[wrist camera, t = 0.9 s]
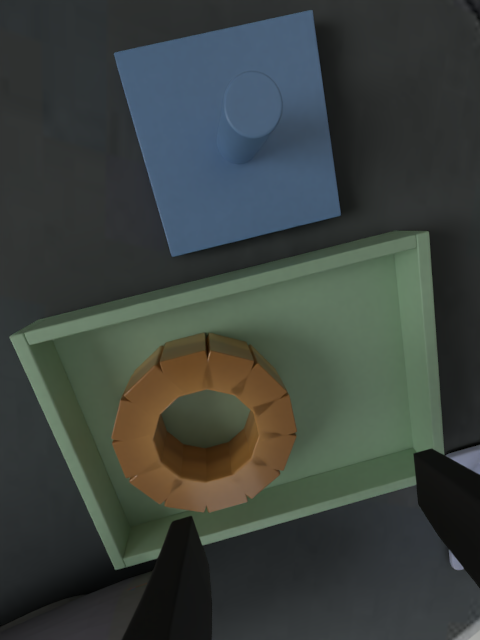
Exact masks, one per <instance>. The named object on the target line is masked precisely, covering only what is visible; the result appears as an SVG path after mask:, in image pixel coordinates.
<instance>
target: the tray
mask: <svg viewBox="0 0 480 640" xmlns="http://www.w3.org/2000/svg"><path fill="white" fill-rule="evenodd" d="M200 333H205V335H206V339H207V336H208V333H213V334H217V335H221V336H225V337H229V338H233V339H237V340H241V341H245V342H247V345H250V344H251V345H252V346H253V347H254V348H255V349H256V350H257V351H258V352H259V353H260V354H261V355H262V356H263V357H264V358H265V359H266V360H267V361H268V362H269V363H270V364H271V365H272V366H273V367H274V368H275V369H276V371H277V373H278V375H279V376H280V378H281V380H282V382H283V384H284V386H285V388H286V390H287V392H288V394H289V395H290V399H291V404H292V409H293V414H294V418H295V423H296V428H297V432H296V436H297V437H296V440H295V442H294V445H293V447H292V450H291V453H290V455H289V458H288V461H287V463H286V466H285V469H284V471H281V470H280V475H279V476H278V477H277V478H276V479H275V480H274V481H272V482H271V483H270V484H269V485H268V486H267V487H265V488H264V489H263V490H262V491H261V492H260V493H258V494H257V495H256V496H255V497H254V498H253V499H250V498H249V497H248V496H247V499H248V502H246V503H242V504H239V505H235V506H232V507H228V508H225V509H221V510H217V511H214V512H210V513H209V512H208V510H207V507H206V509H205V512H203V513H202V512H196V511H189V510H183V509H176V508H170V507H165V505H164V503H165V501H164V502H163V503H162V504H158V503H157V502H155V501H154V500H153V499H151V498H150V497H149V496H147V495H146V494H144V493H143V492H142V491H140V490H139V489H138V488H136V487H135V486H133V485H132V484H131V483H130V482H129V479H130V478H125V475H124V473H123V470H122V468H121V465H120V463H119V460H118V458H117V455H116V453H115V450H114V448H113V445H112V441H113V439H111V436H112V432H113V428H114V423H115V419H116V415H117V411H118V407H119V402H120V399H121V397H122V395H123V393H124V391H125V388H126V386H127V384H128V382H129V380H130V378H131V376H132V375H133V373H134V371H135V370H136V369H137V368H138V367H139V366H140V365H141V364H142V363H143V362H144V361H145V360H146V359H147V358H148V357H149V356H150V355H151V354H152V353H153V352H154V351H156V350H157V349H158V348H159V347H160V346H161V345H162V346H165V343H166V342H169V341H173V340H177V339H181V338H185V337H189V336H192V335H196V334H200ZM10 339H11V341H12V344H13V346H14V348H15V350H16V352H17V355H18V357H19V359H20V361H21V363H22V366H23V368H24V370H25V372H26V374H27V377H28V379H29V381H30V383H31V385H32V388H33V390H34V392H35V394H36V396H37V399H38V401H39V403H40V405H41V407H42V410H43V412H44V414H45V416H46V418H47V421H48V423H49V425H50V427H51V429H52V432H53V434H54V436H55V438H56V440H57V443H58V445H59V447H60V449H61V451H62V454H63V456H64V458H65V460H66V463H67V465H68V467H69V469H70V471H71V474H72V476H73V478H74V480H75V482H76V485H77V487H78V489H79V491H80V493H81V496H82V498H83V500H84V502H85V504H86V507H87V509H88V511H89V513H90V515H91V518H92V520H93V522H94V524H95V526H96V529H97V531H98V533H99V535H100V537H101V540H102V542H103V544H104V546H105V548H106V551H107V553H108V555H109V557H110V559H111V562H112V564H113V566H114V568H115V570H118V569H122V568H125V567H129V566H133V565H136V564H140V563H143V562H147V561H150V560H154V559H157V558H158V556H159V554H160V551H161V548H162V546H163V543H164V540H165V538H166V535H167V532H168V529H169V527H170V524H171V523H172V521H174V520H178V519H182V518H185V517H189V516H192V517H193V520H194V523H195V526H196V529H197V532H198V535H199V538H200V540H201V543H202V546H203V545H206V544H210V543H213V542H217V541H220V540H224V539H227V538H231V537H234V536H238V535H241V534H245V533H248V532H252V531H255V530H259V529H262V528H266V527H269V526H273V525H277V524H280V523H284V522H287V521H291V520H294V519H298V518H301V517H305V516H308V515H312V514H315V513H319V512H322V511H326V510H329V509H333V508H336V507H340V506H343V505H347V504H350V503H354V502H357V501H361V500H364V499H368V498H371V497H375V496H378V495H382V494H385V493H389V492H392V491H396V490H399V489H403V488H406V487H410V486H413V485H416V475H415V465H414V455H413V453H417V452H420V451H424V450H427V449H431V448H432V449H434V450H436V451H437V452H439V453H441V454H443V455H444V442H443V427H442V413H441V398H440V384H439V369H438V355H437V340H436V326H435V311H434V297H433V282H432V268H431V253H430V239H429V231H392V232H388V233H384V234H380V235H376V236H372V237H368V238H364V239H360V240H356V241H352V242H348V243H344V244H340V245H336V246H332V247H328V248H324V249H320V250H316V251H312V252H308V253H304V254H300V255H296V256H292V257H288V258H284V259H280V260H276V261H272V262H268V263H264V264H260V265H256V266H252V267H248V268H244V269H240V270H236V271H232V272H228V273H224V274H220V275H216V276H212V277H208V278H204V279H200V280H196V281H192V282H188V283H184V284H180V285H176V286H172V287H168V288H164V289H160V290H156V291H152V292H148V293H144V294H140V295H136V296H132V297H128V298H124V299H120V300H116V301H112V302H108V303H103V304H99V305H95V306H91V307H87V308H83V309H79V310H75V311H71V312H67V313H63V314H59V315H55V316H51V317H47V318H43V319H39V320H37V321H35V322H34V323H32V324H30V325H28V326H27V327H25V328H23V329H21V330H20V331H18V332H16V333H14V334H13V335H11V336H10ZM249 412H250V409H249V408H248V407H247V406H246V405H244V404H243V403H242V402H241V401H240V400H239V399H238V398H237V397H236V396H235V395H230V394H226V393H221V392H217V391H212V390H208V389H207V390H203V391H199V392H196V393H192V394H188V395H184V396H181V397H179V398H178V399H176V400H175V401H174V402H173V403H172V404H171V405H170V406H169V407H168V408H167V409H166V410H165V411H164V412H162V413H161V415H162V418H163V421H164V424H165V427H166V430H167V431H168V432H169V433H170V434H172V435H173V436H174V437H175V438H176V439H178V440H179V441H180V442H181V443H183V444H185V445H191V446H196V447H201V448H208V447H212V446H215V445H219V444H223V443H226V442H229V441H230V440H231V439H232V438H234V437H235V436H236V435H237V434H238V433H239V432H240V431H241V430H243V429H244V427H245V424H246V421H247V418H248V415H249Z"/></svg>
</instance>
